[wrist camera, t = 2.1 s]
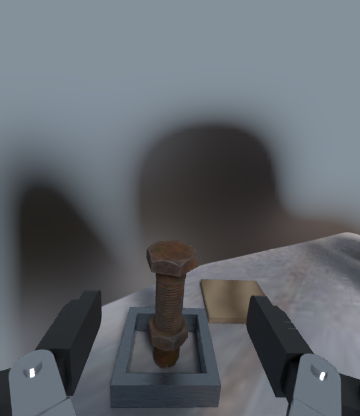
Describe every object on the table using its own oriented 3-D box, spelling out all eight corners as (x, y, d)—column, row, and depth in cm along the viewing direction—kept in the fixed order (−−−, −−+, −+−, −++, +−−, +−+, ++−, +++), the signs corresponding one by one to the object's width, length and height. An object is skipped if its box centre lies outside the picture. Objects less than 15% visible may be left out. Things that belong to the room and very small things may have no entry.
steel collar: (202, 325, 34) (204, 308, 33) (217, 407, 23) (221, 385, 22) (129, 324, 33) (129, 307, 32) (111, 407, 22) (110, 385, 22)
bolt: (136, 371, 26) (137, 255, 22) (150, 337, 31) (154, 237, 27) (184, 384, 25) (195, 265, 21) (192, 347, 30) (201, 244, 26)
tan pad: (255, 285, 44) (256, 281, 44) (278, 324, 35) (280, 318, 35) (200, 283, 44) (201, 279, 44) (209, 322, 34) (209, 317, 34)
